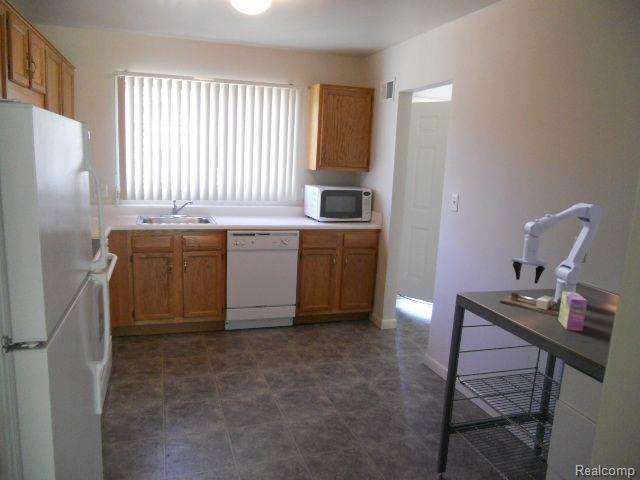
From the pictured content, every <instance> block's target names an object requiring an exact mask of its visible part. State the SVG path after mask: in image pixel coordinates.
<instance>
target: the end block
mask: <svg viewBox="0 0 640 480" xmlns="http://www.w3.org/2000/svg"><path fill="white" fill-rule="evenodd" d="M561 299H562V298H561V297H560V298H559V299H558V301H557V308H556V311H558V312H560V305H561Z"/></svg>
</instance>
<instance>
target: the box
mask: <svg viewBox="0 0 640 480" xmlns="http://www.w3.org/2000/svg"><path fill="white" fill-rule="evenodd" d="M587 305H588V300H587V299H586V297H585V298H584V296H582V295H581V294H580V293H579V292H576V293H575V292H564V291H563V292H562V299H561V305H560V312H559V317H558V319H557V320H558V322H559V323H560V324H561V325H562V326H563V328H565V331H566V330H568V331H575V332H576V331H577V332H583V330H584V325H585V323H584V322H585V317H586V312H587V307H588V306H587Z"/></svg>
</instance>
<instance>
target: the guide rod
mask: <svg viewBox="0 0 640 480" xmlns="http://www.w3.org/2000/svg"><path fill="white" fill-rule="evenodd" d="M517 298H521V299H525V300H530V301H534V302H537V299H538V298H534V297H529V296H525V295H520V294H518V295H517ZM553 306H556V307H557V303H555V302H554V303H553Z"/></svg>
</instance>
